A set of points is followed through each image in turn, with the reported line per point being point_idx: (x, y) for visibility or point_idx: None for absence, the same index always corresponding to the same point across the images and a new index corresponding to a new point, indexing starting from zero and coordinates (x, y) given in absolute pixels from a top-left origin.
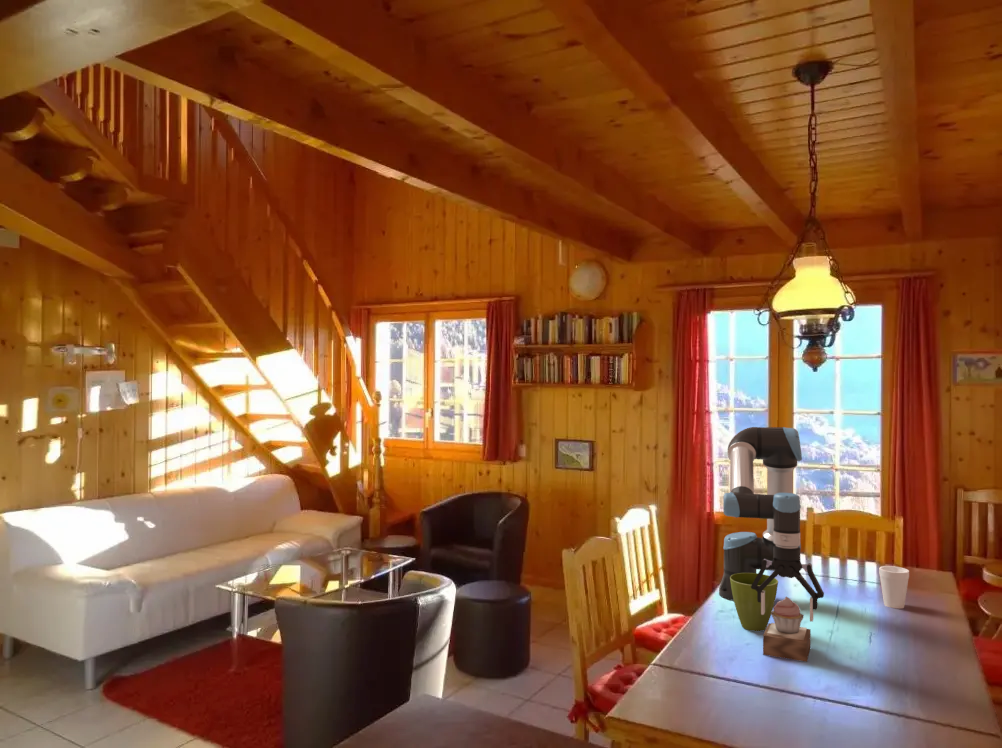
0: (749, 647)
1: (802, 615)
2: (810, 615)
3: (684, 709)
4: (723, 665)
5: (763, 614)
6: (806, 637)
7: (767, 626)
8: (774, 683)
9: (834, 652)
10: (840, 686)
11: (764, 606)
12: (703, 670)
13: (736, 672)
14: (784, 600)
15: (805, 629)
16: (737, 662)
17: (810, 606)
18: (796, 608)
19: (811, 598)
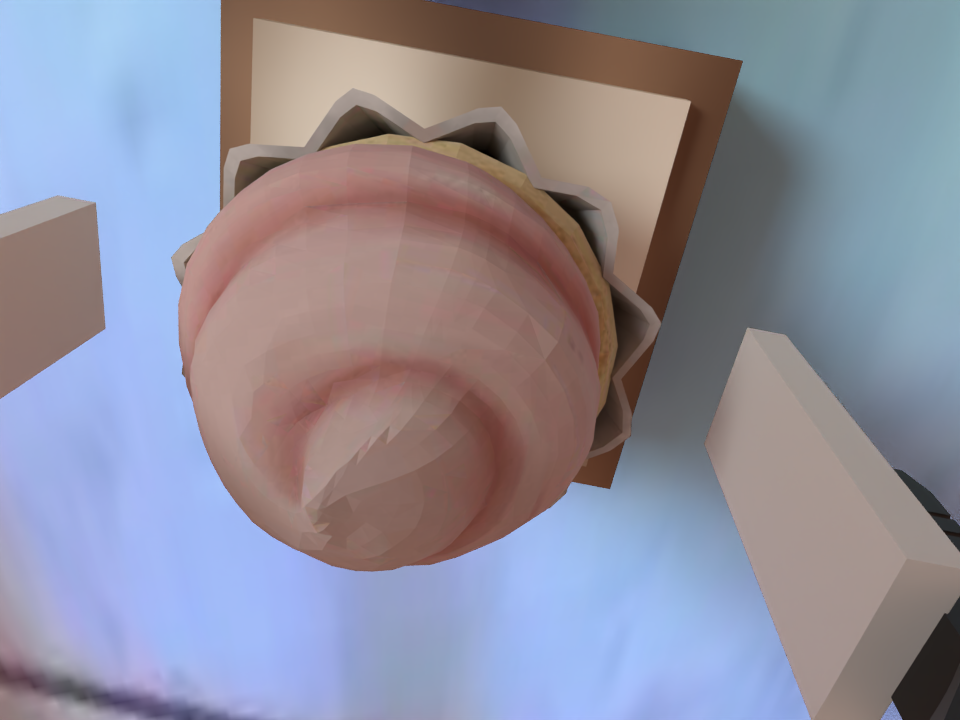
0: (163, 203)
1: (637, 310)
2: (732, 493)
3: None
4: (83, 564)
5: (100, 330)
6: (629, 369)
7: (224, 112)
8: (376, 714)
9: (904, 107)
10: (723, 693)
11: (31, 285)
12: (10, 641)
13: (173, 634)
14: (301, 549)
15: (661, 178)
16: (146, 507)
17: (775, 597)
18: (530, 508)
19: (872, 678)
